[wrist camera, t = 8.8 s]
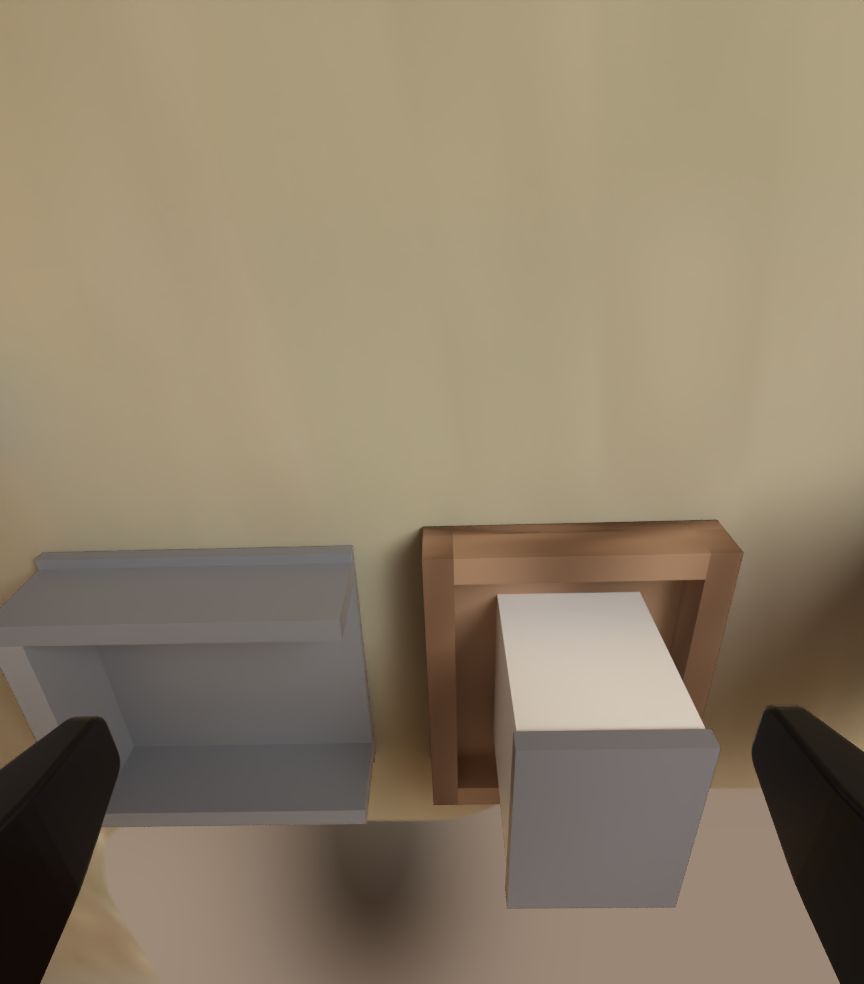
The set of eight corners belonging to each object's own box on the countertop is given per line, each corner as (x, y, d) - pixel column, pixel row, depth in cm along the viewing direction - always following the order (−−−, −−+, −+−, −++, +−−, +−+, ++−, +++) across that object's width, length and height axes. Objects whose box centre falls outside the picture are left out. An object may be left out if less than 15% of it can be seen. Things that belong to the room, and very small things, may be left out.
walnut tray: (717, 519, 21) (743, 552, 19) (665, 759, 26) (681, 801, 24) (423, 526, 21) (421, 559, 19) (434, 762, 26) (433, 804, 25)
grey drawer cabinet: (352, 545, 21) (337, 609, 18) (375, 752, 26) (367, 830, 23) (42, 552, 21) (-25, 617, 18) (123, 756, 26) (81, 833, 23)
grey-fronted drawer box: (643, 589, 21) (720, 748, 15) (619, 732, 25) (675, 907, 19) (494, 591, 21) (515, 750, 15) (490, 734, 25) (507, 908, 19)
